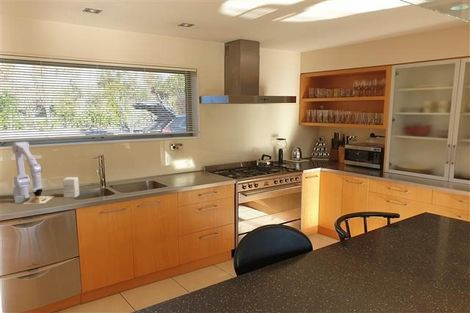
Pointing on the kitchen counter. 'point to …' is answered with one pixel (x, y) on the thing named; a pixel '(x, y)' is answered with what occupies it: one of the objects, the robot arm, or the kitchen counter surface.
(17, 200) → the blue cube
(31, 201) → the oak block
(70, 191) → the supplement box
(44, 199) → the letter board
